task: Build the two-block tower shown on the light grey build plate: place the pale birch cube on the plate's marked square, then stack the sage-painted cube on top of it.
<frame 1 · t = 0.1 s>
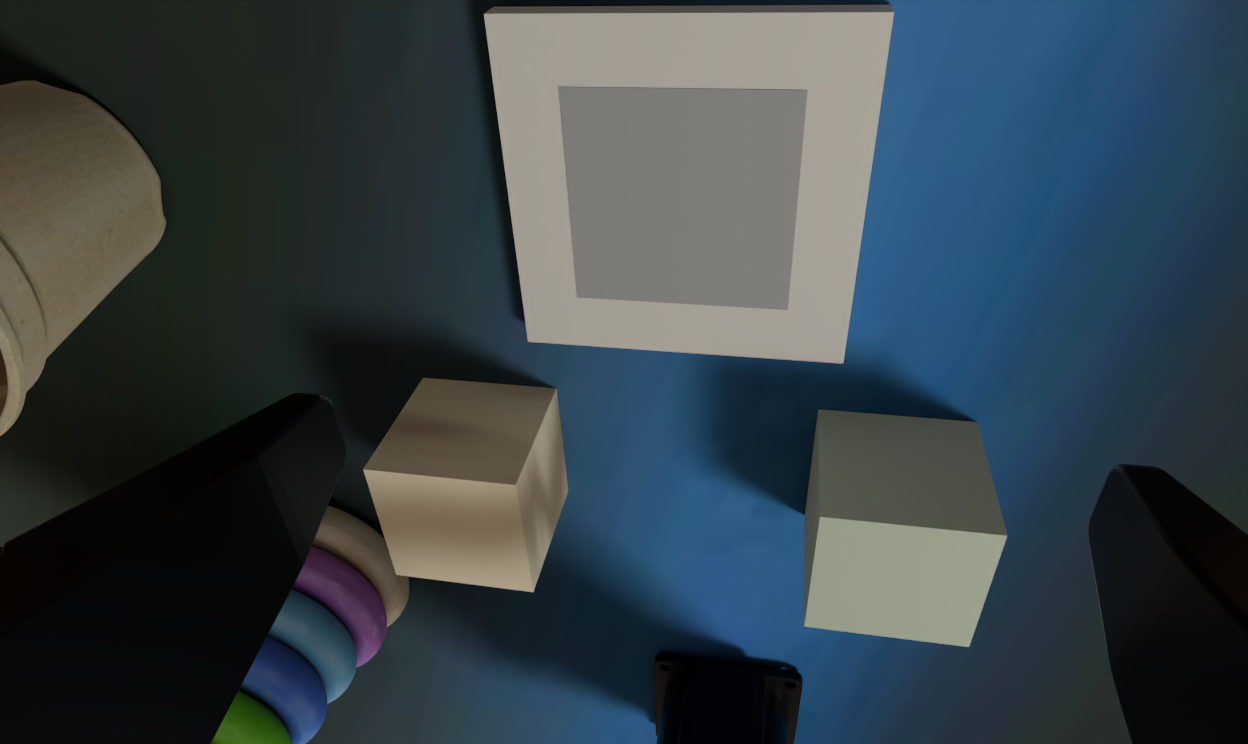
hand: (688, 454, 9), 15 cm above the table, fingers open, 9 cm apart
stacking toy: (334, 550, 37), on the table
build plate: (683, 193, 23), on the table
flower pot: (86, 169, 27), on the table
block birch: (498, 434, 30), on the table
block sage: (884, 470, 28), on the table
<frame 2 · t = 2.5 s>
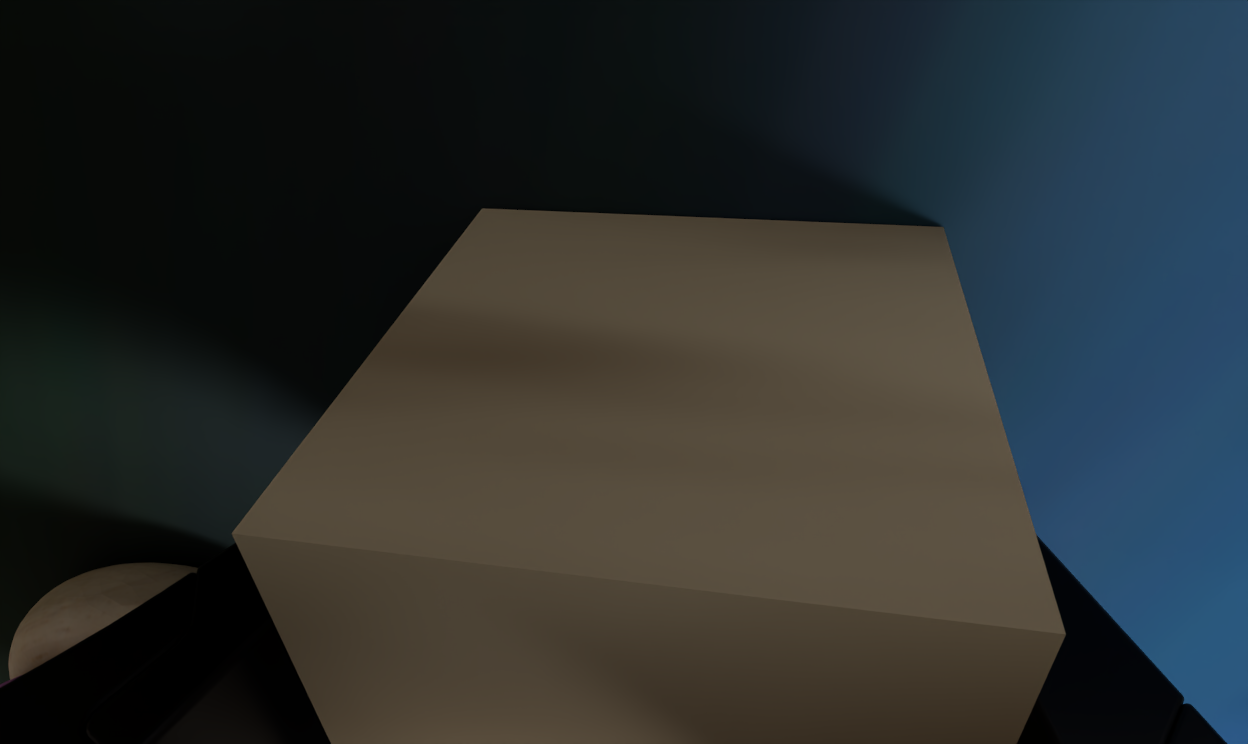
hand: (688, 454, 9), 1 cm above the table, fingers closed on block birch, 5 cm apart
stacking toy: (258, 664, 17), on the table
block birch: (698, 399, 10), on the table, touching gripper
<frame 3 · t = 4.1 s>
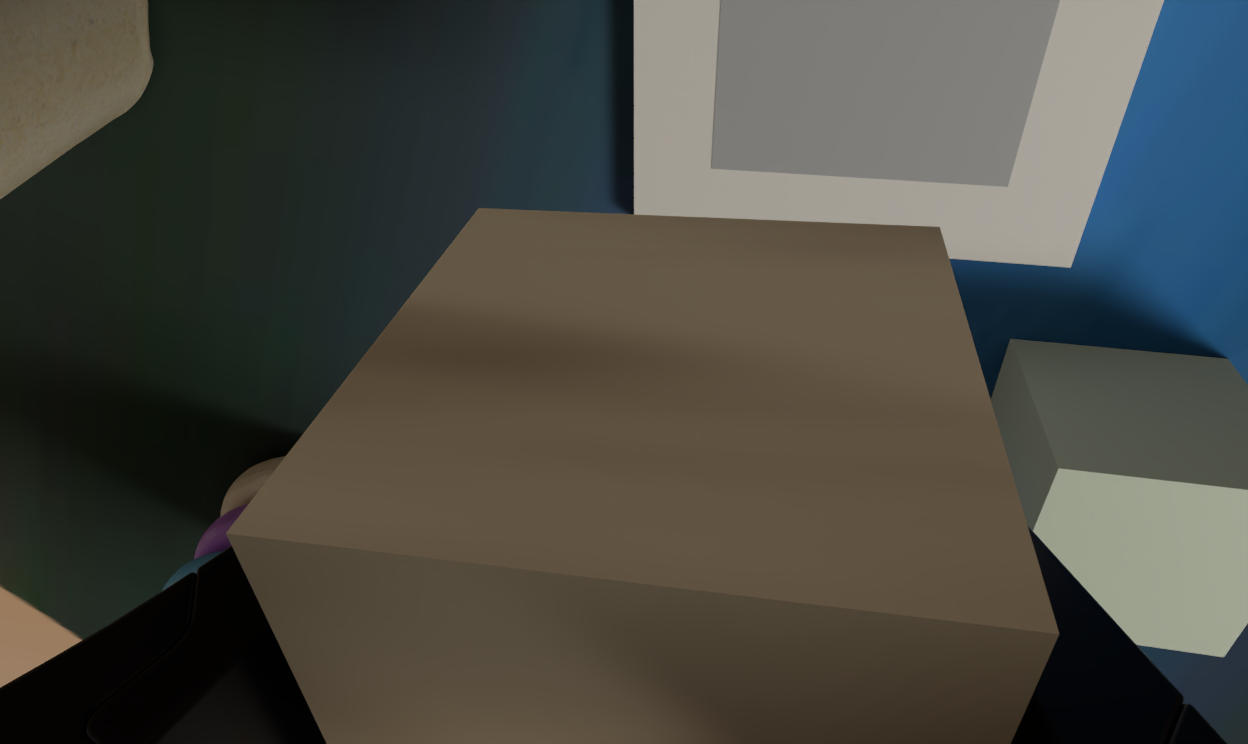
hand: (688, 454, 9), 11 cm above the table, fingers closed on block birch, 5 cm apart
stacking toy: (346, 522, 30), on the table
build plate: (877, 15, 17), on the table
block birch: (695, 399, 10), point 10 cm above the table, touching gripper
block sage: (1083, 425, 21), on the table
when the fingers open (2 cm above the table, at t = 6.0 s): block birch stays where it is, resting on build plate.
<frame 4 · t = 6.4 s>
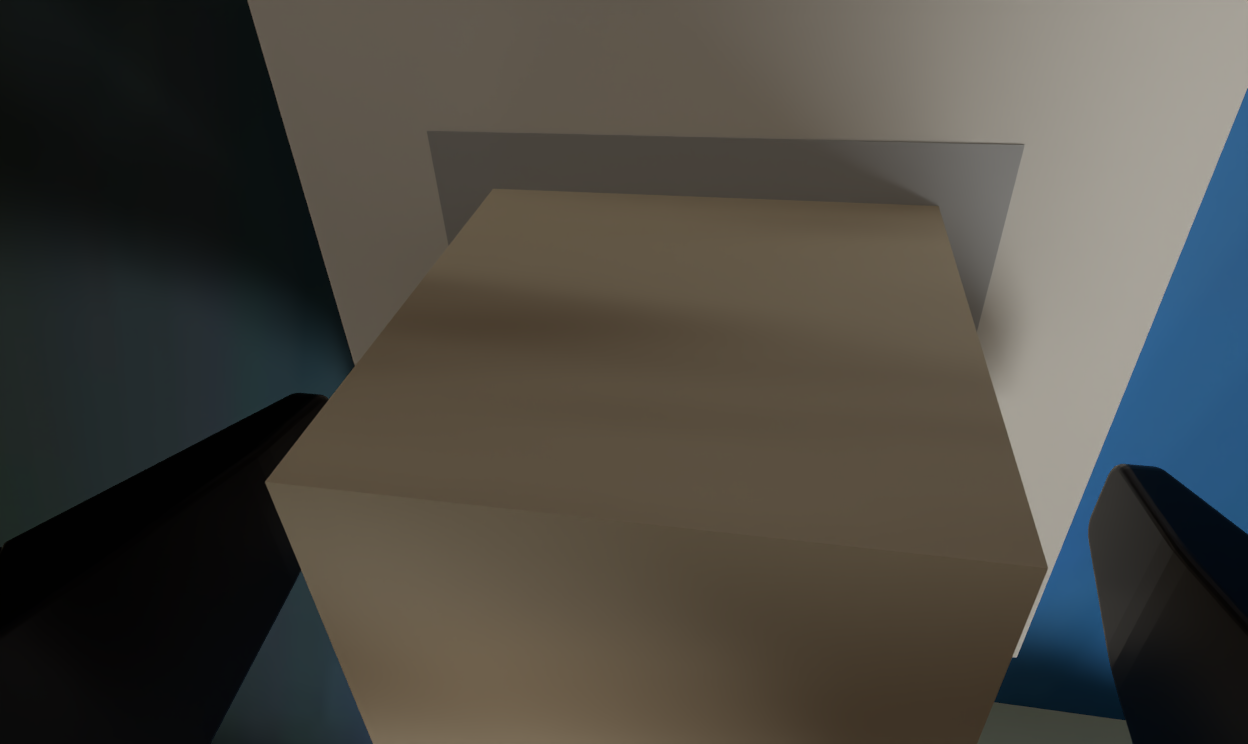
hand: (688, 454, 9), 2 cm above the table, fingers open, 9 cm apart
build plate: (708, 342, 11), on the table
block birch: (701, 376, 10), point 1 cm above the table, touching build plate
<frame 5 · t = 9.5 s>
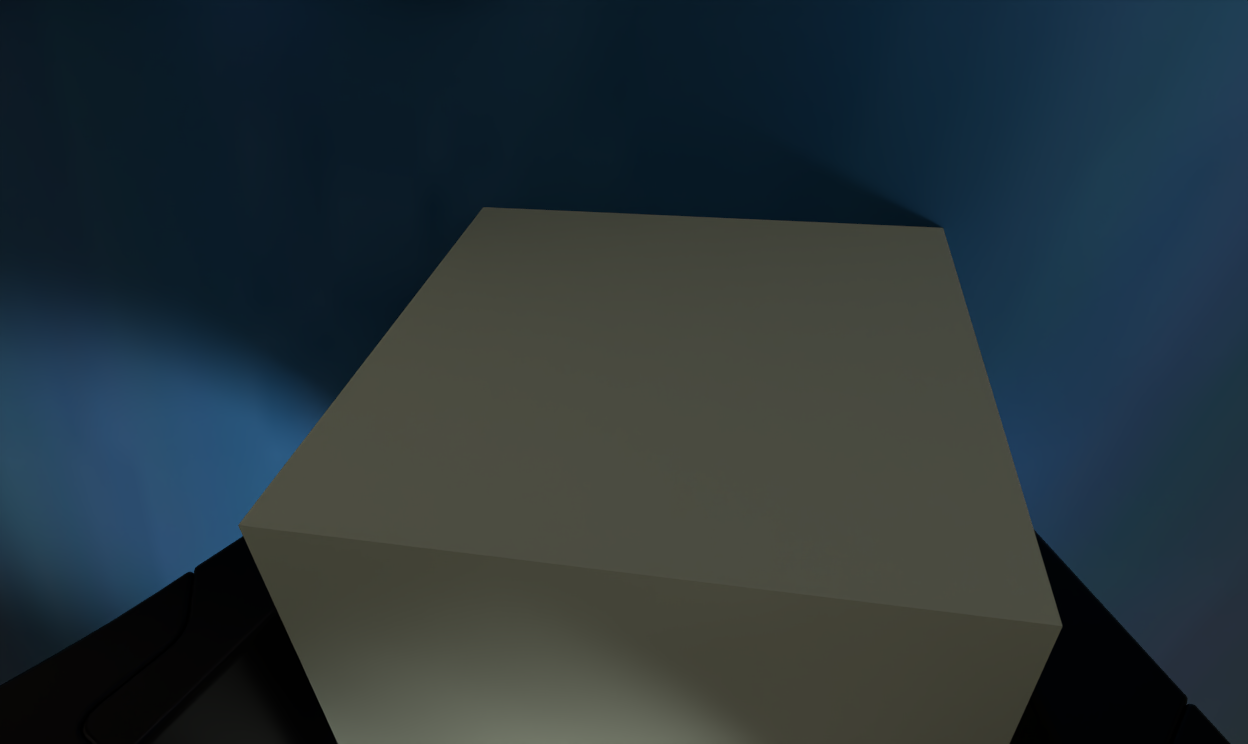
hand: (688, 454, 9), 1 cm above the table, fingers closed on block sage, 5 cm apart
block sage: (698, 396, 10), on the table, touching gripper
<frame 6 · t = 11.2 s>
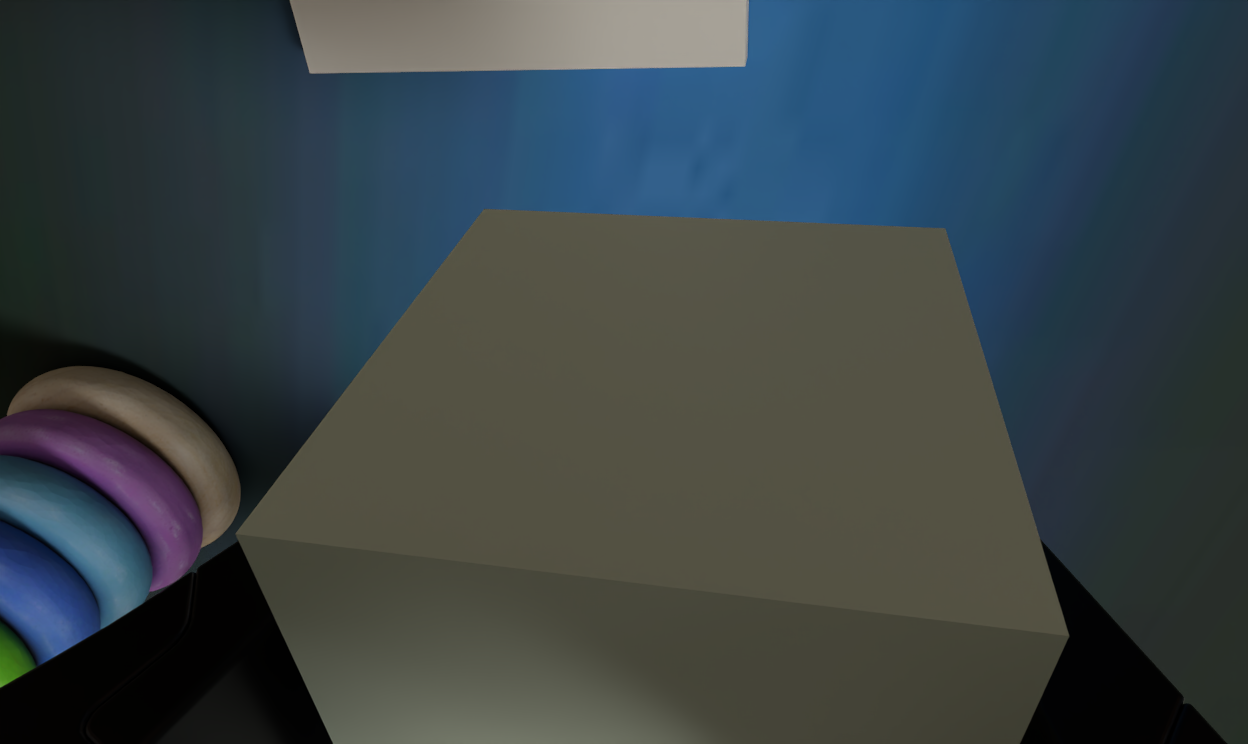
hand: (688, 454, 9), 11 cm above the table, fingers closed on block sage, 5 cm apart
stacking toy: (149, 442, 29), on the table
block sage: (699, 400, 10), point 10 cm above the table, touching gripper
when the fingers open (7 cm above the table, at t = 12.7 s): block sage stays where it is, resting on block birch.
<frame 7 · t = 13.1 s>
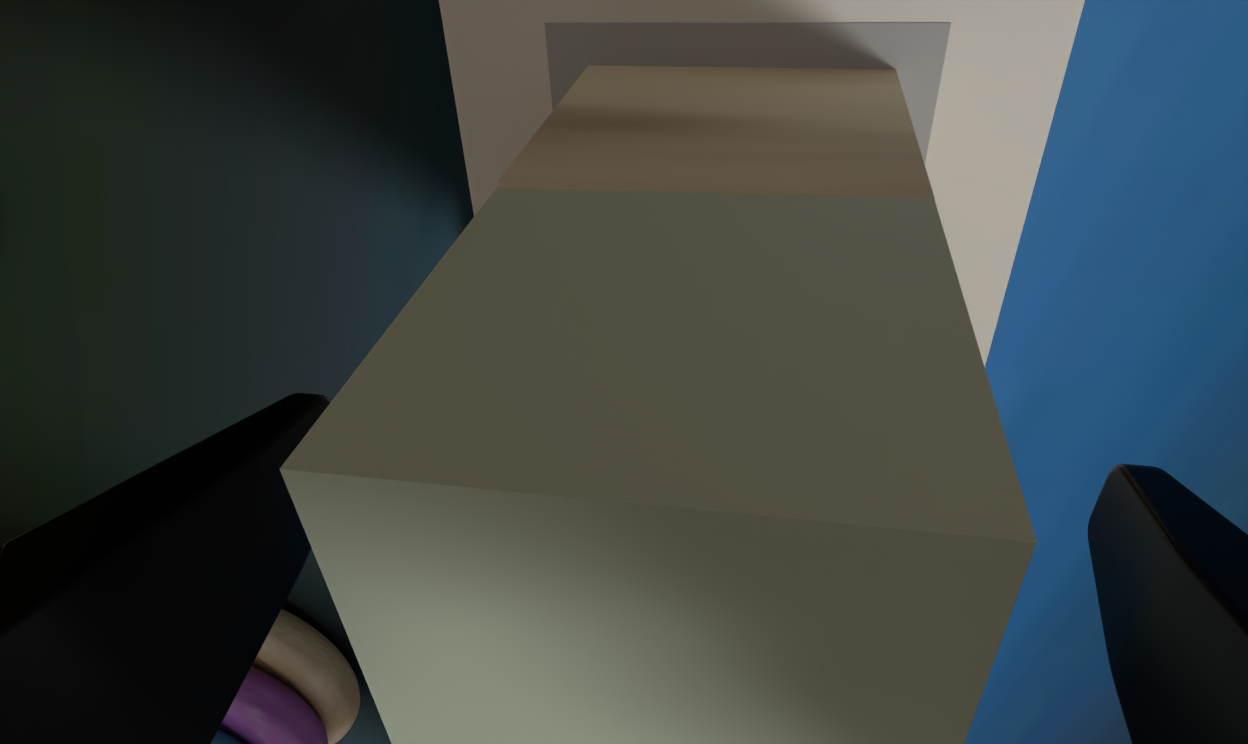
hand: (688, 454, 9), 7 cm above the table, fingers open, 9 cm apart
stacking toy: (265, 646, 29), on the table
build plate: (734, 191, 15), on the table
block birch: (730, 208, 15), point 1 cm above the table, touching block sage, build plate
block sage: (703, 369, 11), point 6 cm above the table, touching block birch
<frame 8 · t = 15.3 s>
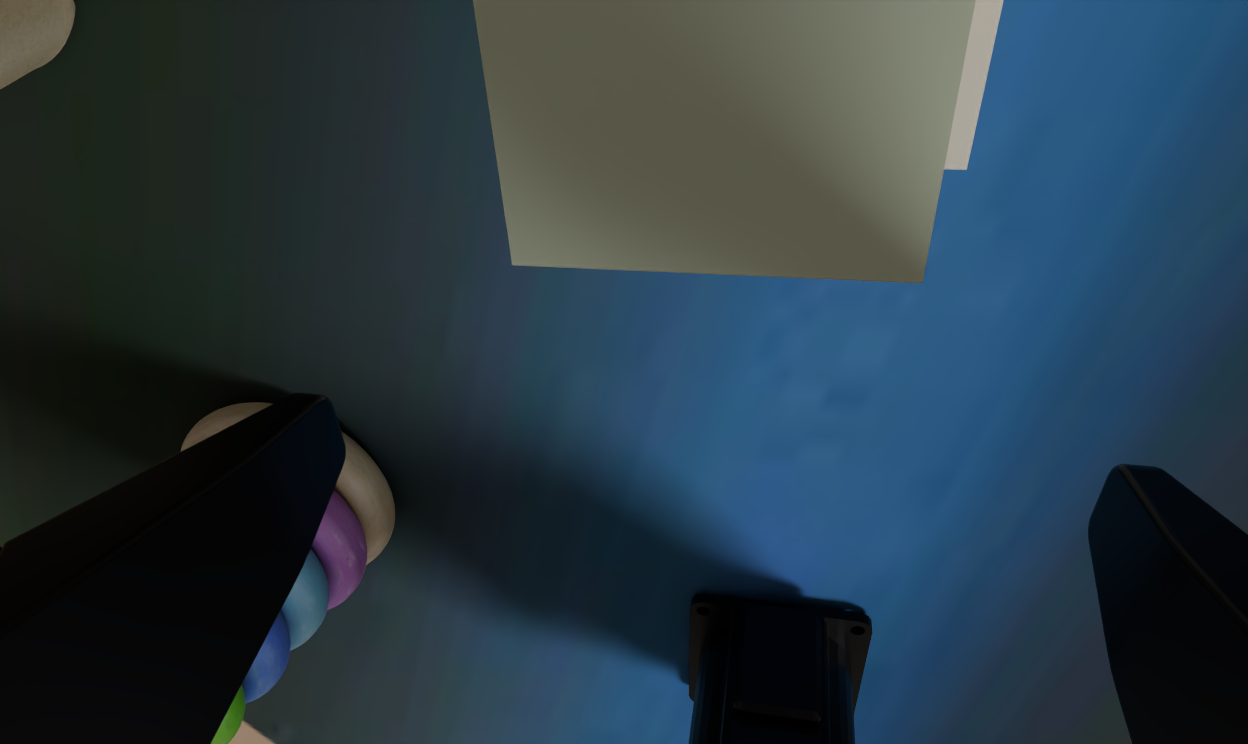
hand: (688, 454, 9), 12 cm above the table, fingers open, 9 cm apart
stacking toy: (305, 471, 30), on the table
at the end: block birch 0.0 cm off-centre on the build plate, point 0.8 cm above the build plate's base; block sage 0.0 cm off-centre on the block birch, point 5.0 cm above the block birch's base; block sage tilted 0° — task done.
